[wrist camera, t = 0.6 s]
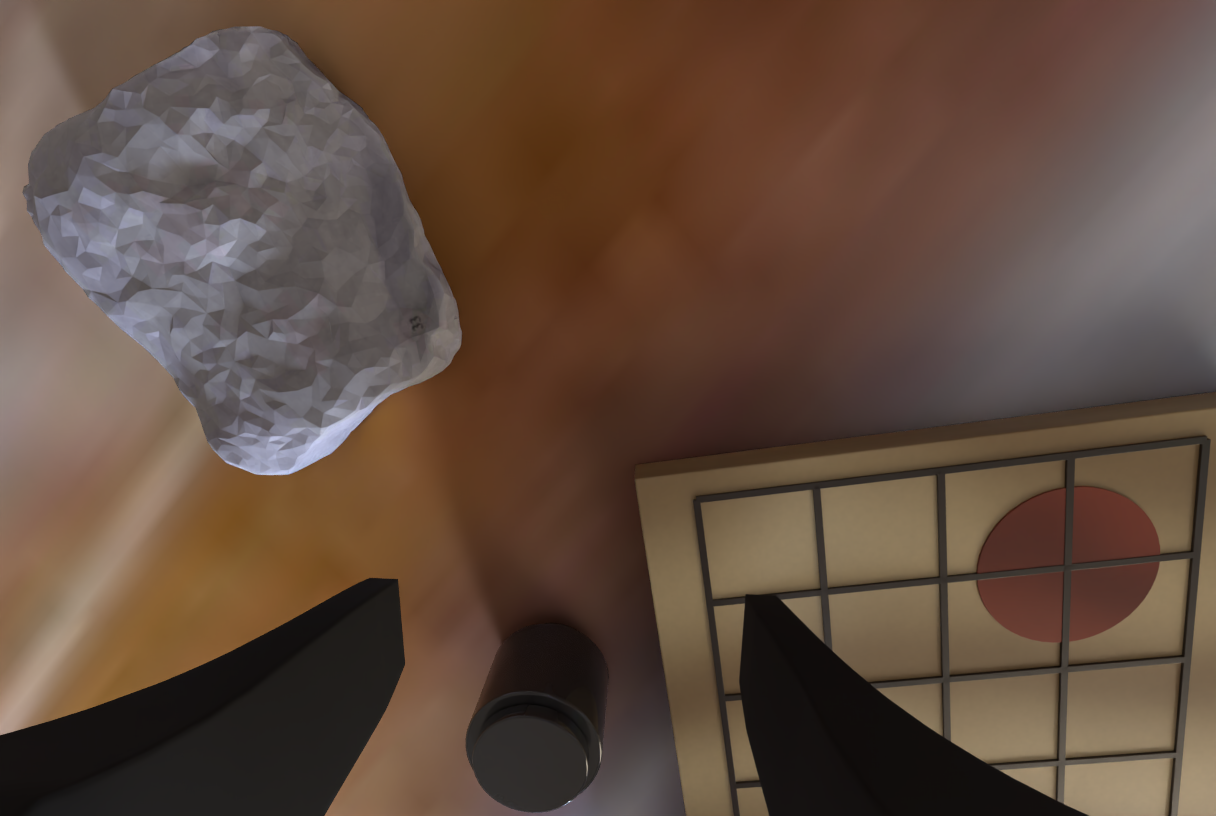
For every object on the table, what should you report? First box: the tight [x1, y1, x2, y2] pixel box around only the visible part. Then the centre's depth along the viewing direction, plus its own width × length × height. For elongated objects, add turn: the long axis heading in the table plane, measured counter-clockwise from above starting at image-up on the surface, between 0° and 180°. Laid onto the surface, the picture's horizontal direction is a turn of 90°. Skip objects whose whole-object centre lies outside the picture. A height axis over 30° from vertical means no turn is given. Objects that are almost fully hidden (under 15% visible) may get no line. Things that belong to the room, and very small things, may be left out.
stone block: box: [23, 26, 462, 475], centre depth 19 cm, size 12×5×10 cm
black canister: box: [466, 623, 609, 813], centre depth 21 cm, size 5×5×5 cm
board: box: [635, 392, 1216, 816], centre depth 22 cm, size 18×20×2 cm
